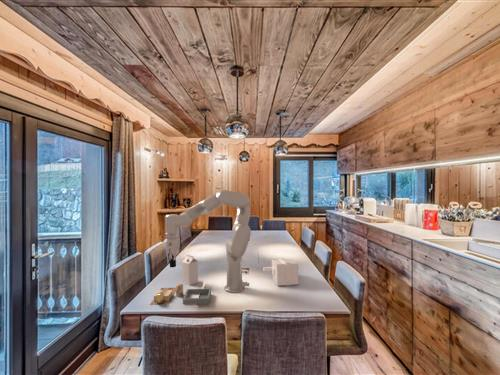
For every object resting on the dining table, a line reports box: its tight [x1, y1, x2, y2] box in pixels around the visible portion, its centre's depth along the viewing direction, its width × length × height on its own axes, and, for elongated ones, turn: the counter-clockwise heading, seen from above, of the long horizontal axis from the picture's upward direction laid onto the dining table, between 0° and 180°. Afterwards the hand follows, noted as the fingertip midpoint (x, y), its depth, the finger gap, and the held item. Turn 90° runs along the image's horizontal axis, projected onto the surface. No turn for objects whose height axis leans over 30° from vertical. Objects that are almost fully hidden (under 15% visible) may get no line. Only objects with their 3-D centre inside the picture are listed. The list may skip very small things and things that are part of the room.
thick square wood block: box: [153, 289, 174, 301], centre depth 147 cm, size 8×8×3 cm
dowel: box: [175, 283, 184, 297], centre depth 151 cm, size 4×4×7 cm
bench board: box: [149, 287, 176, 306], centre depth 150 cm, size 10×23×1 cm, turn 4°
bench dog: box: [156, 292, 164, 306], centre depth 141 cm, size 4×4×5 cm
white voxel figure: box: [262, 257, 300, 287], centre depth 180 cm, size 15×25×28 cm
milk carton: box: [181, 254, 199, 286], centre depth 171 cm, size 7×7×19 cm
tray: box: [182, 287, 212, 306], centre depth 147 cm, size 14×14×4 cm
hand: (172, 266), depth 152 cm, fingers closed
